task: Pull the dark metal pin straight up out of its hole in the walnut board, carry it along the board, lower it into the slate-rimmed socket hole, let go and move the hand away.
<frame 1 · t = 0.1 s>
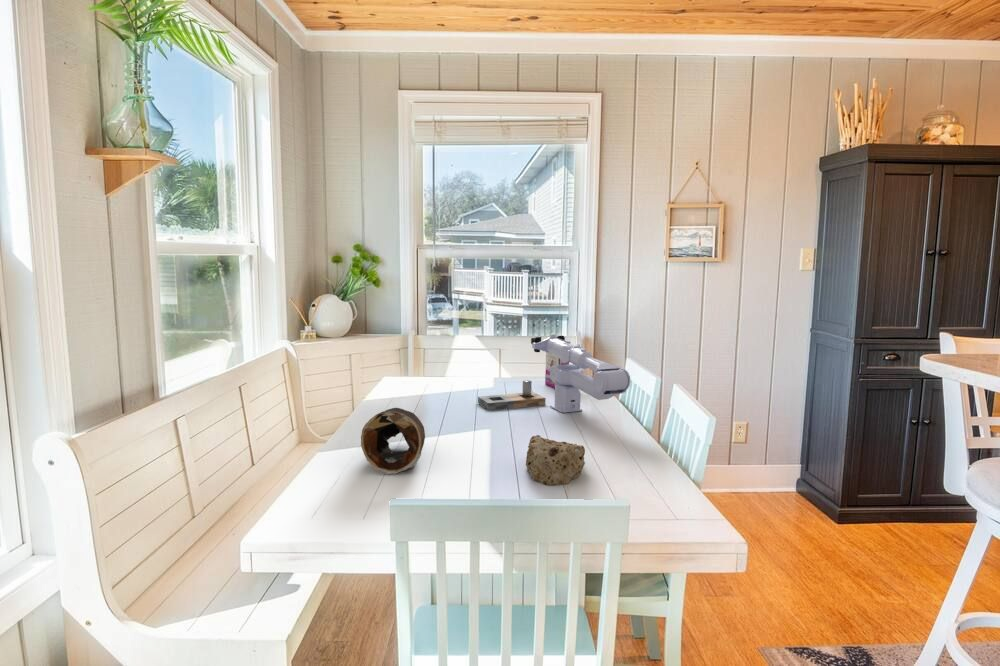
hand: (541, 340, 223), 22 cm above the table, tool horizontal, fingers open, 7 cm apart
dock board: (511, 404, 213), on the table
rock: (555, 472, 148), on the table
candy bar box: (556, 387, 243), on the table
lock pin: (526, 402, 216), resting in dock board
hollow brown log: (398, 459, 155), on the table
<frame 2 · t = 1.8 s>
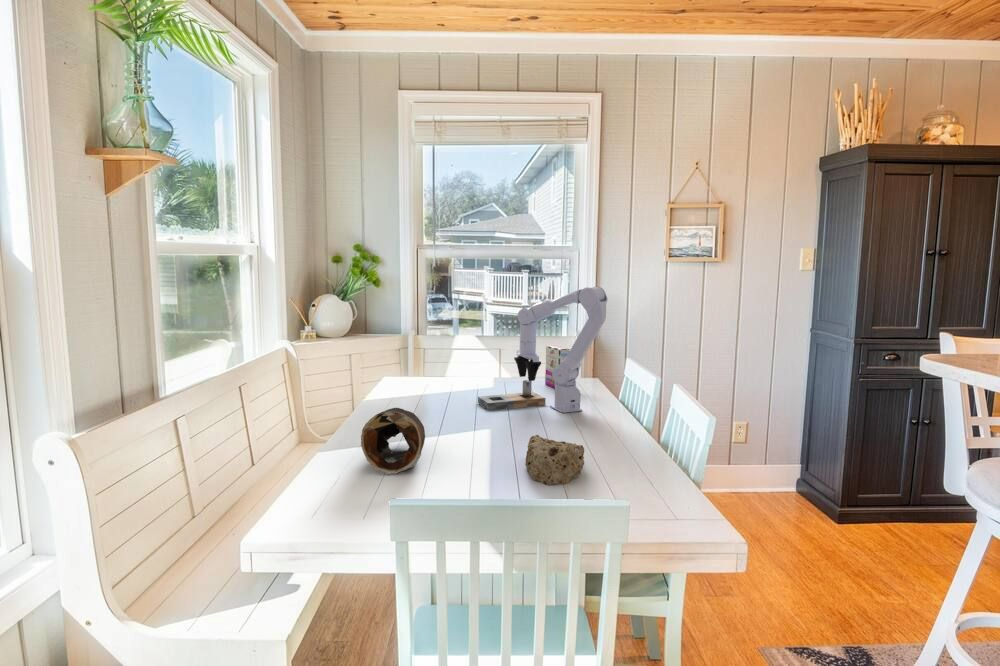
hand: (527, 378, 215), 9 cm above the table, tool pointing down, fingers open, 7 cm apart
nothing on the table moved.
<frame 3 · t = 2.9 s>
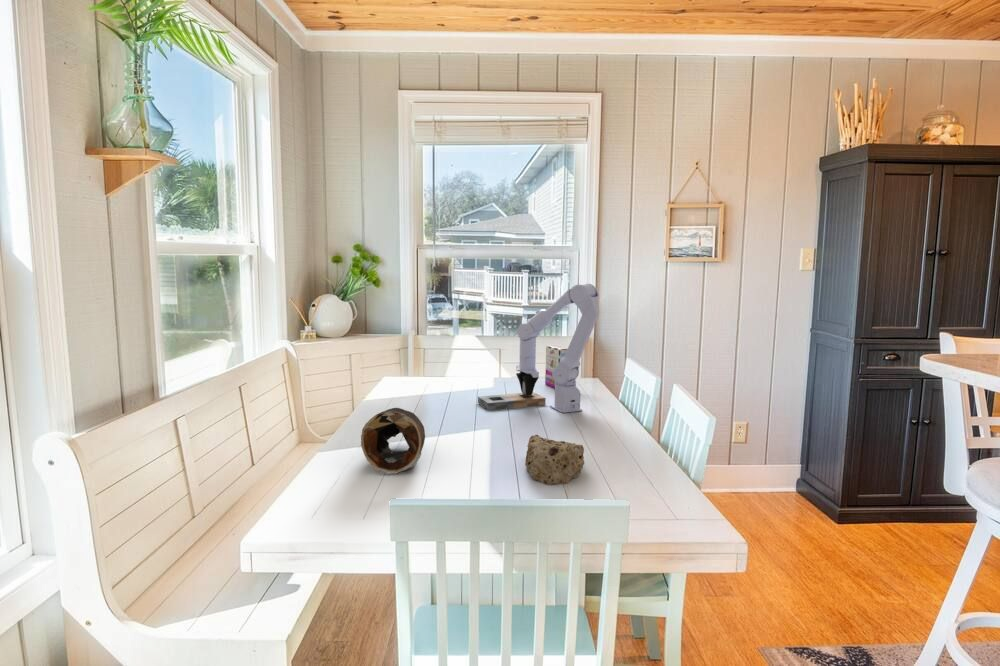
hand: (526, 393, 215), 3 cm above the table, tool pointing down, fingers closed on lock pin, 3 cm apart
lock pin: (526, 402, 216), resting in dock board, touching gripper
everything else where it was.
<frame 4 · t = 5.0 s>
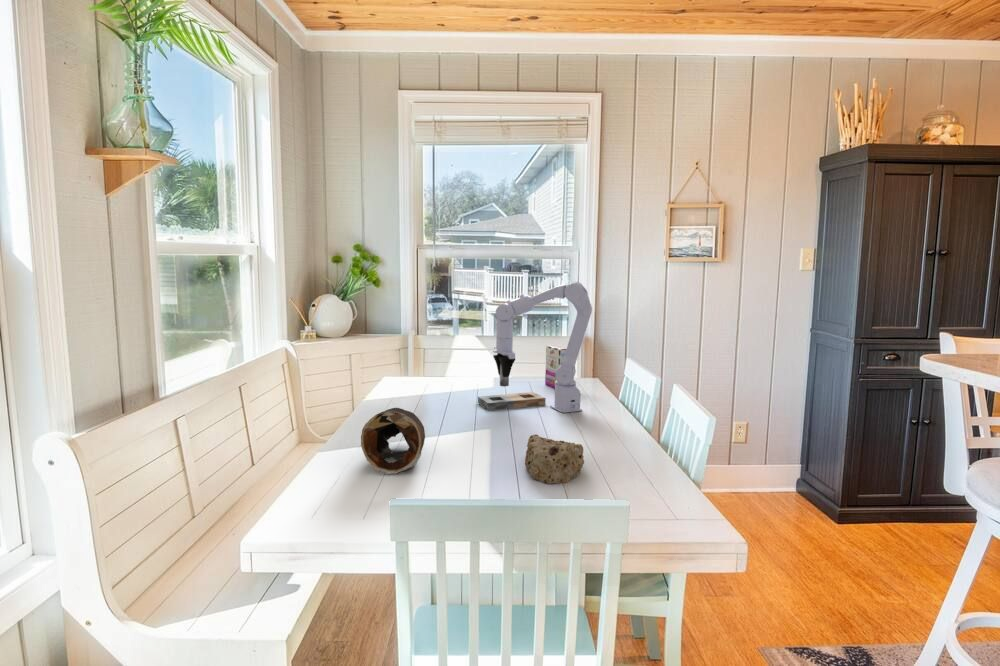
hand: (503, 375, 211), 11 cm above the table, tool pointing down, fingers closed on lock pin, 3 cm apart
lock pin: (504, 385, 211), point 7 cm above the table, touching gripper
everything else where it was.
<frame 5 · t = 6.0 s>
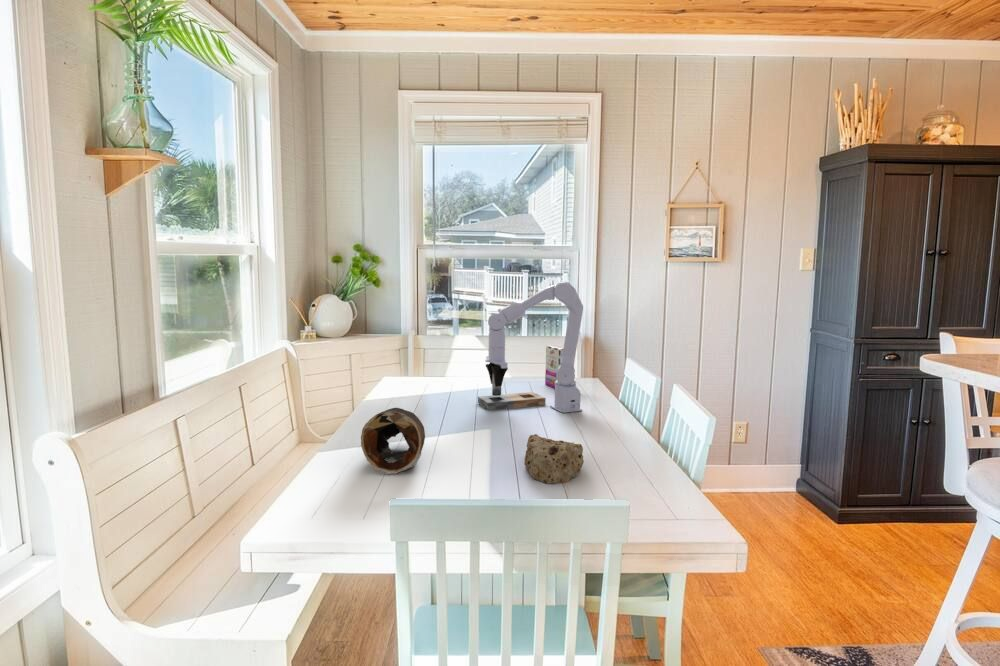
hand: (496, 385, 210), 7 cm above the table, tool pointing down, fingers closed on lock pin, 3 cm apart
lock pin: (496, 394, 211), point 4 cm above the table, touching gripper
everything else where it was.
when the fingers open (4 cm above the table, at t = 7.0 s): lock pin stays where it is, resting in dock board.
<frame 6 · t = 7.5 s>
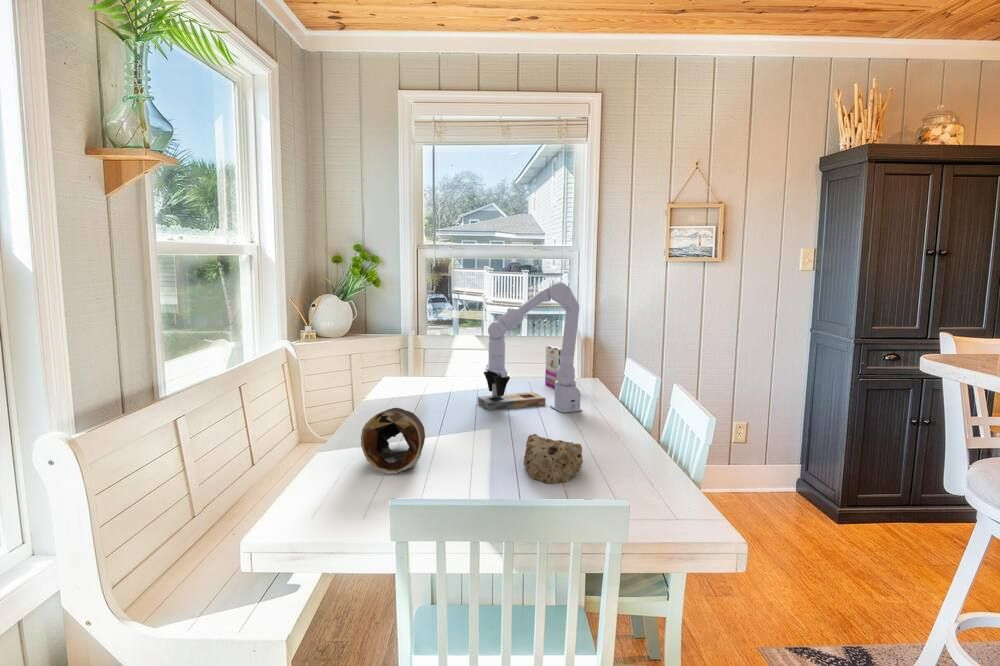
hand: (496, 393, 210), 4 cm above the table, tool pointing down, fingers open, 7 cm apart
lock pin: (496, 405, 211), resting in dock board
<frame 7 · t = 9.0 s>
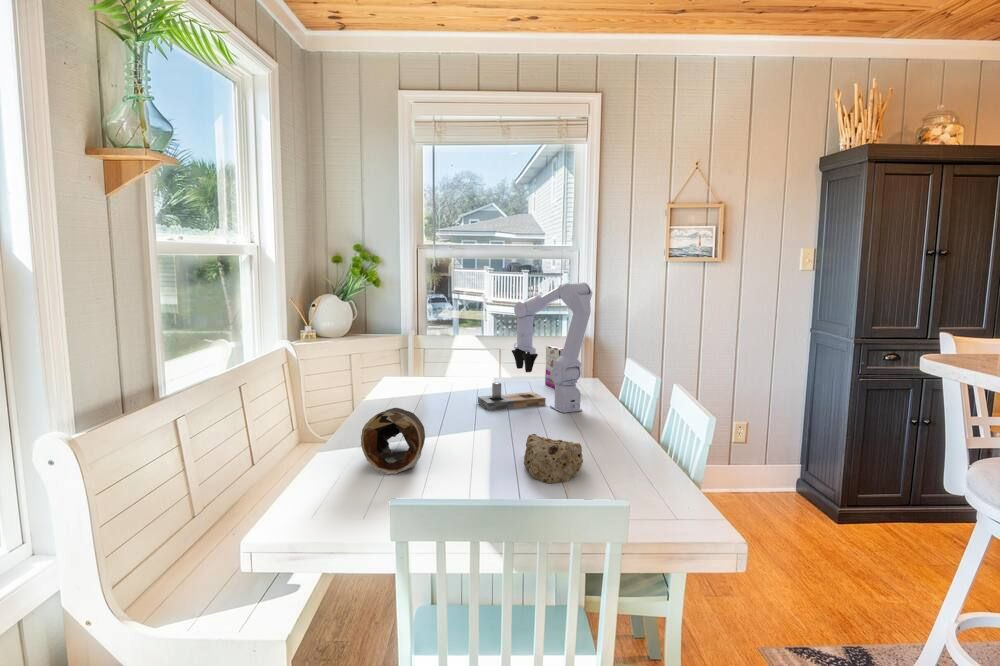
hand: (524, 370, 222), 10 cm above the table, tool pointing down, fingers open, 7 cm apart
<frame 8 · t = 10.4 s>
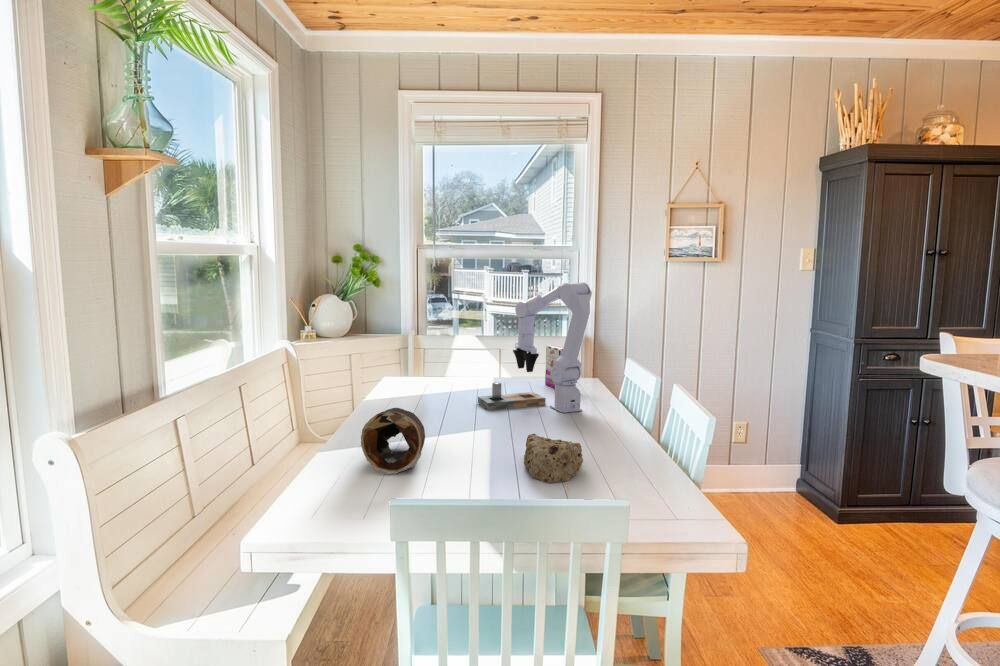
hand: (525, 370, 223), 10 cm above the table, tool pointing down, fingers open, 7 cm apart
at the end: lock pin 0.2 cm from the target spot on the dock board, point 0.0 cm above the dock board's base; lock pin tilted 0°; the gripper is holding nothing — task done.
